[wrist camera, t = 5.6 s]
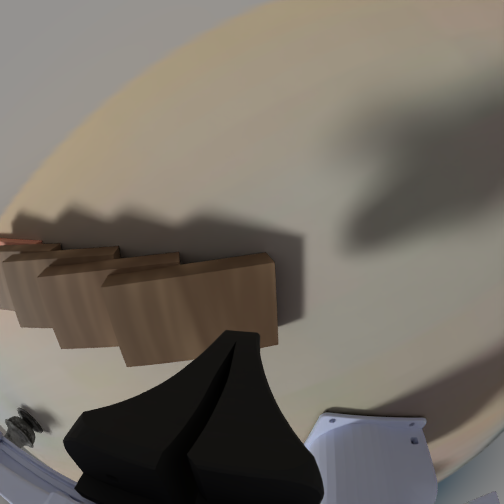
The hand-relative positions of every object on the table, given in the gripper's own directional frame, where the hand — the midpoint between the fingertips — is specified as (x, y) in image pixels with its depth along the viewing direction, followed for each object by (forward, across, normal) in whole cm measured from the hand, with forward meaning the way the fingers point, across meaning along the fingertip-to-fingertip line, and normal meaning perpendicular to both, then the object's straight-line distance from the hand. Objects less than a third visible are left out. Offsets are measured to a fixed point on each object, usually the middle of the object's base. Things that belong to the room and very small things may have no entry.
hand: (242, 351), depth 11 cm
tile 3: (+5, +8, 0) cm, 10 cm away
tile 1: (+5, -1, 0) cm, 5 cm away
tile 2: (+5, +4, 0) cm, 6 cm away
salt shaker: (+6, +35, +27) cm, 45 cm away
